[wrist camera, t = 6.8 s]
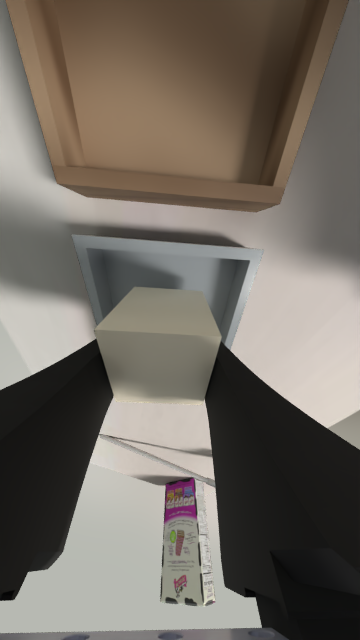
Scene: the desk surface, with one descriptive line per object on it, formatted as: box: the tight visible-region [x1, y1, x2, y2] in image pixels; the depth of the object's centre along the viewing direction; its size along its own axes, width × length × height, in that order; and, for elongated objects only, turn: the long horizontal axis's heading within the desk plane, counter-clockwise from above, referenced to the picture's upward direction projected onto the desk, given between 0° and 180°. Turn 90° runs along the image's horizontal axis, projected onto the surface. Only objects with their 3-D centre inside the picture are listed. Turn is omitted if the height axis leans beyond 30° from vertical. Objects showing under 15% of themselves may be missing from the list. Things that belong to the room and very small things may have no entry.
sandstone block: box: [94, 287, 222, 405], centre depth 8 cm, size 4×4×5 cm
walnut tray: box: [6, 0, 349, 212], centre depth 5 cm, size 11×11×2 cm
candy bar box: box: [160, 478, 215, 607], centre depth 35 cm, size 11×5×16 cm, turn 128°
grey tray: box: [71, 234, 264, 350], centre depth 11 cm, size 11×11×2 cm
